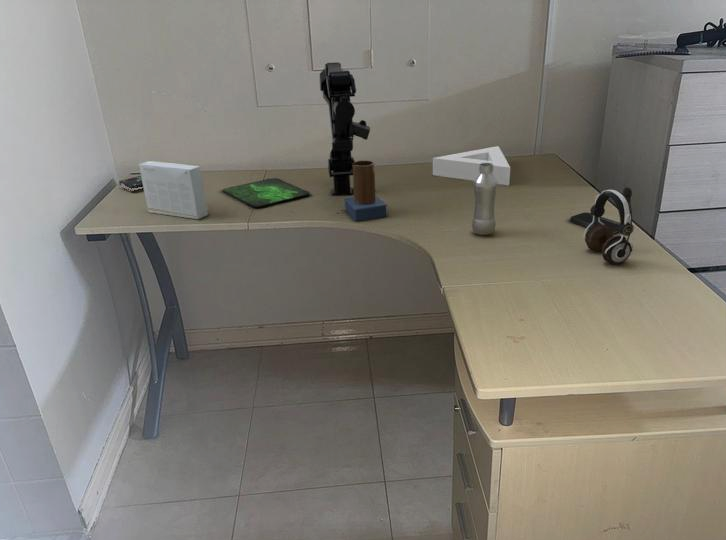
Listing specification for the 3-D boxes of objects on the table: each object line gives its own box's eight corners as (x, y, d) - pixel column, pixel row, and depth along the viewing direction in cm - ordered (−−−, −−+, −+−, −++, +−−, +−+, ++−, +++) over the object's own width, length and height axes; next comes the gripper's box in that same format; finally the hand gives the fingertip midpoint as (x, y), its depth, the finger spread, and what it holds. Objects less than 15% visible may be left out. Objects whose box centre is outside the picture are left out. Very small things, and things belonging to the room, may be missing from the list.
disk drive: (133, 194, 228) (170, 183, 237) (131, 186, 227) (169, 176, 236) (120, 188, 235) (157, 178, 244) (118, 180, 233) (155, 171, 242)
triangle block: (509, 185, 224) (510, 167, 220) (434, 187, 224) (434, 169, 221) (497, 162, 250) (498, 145, 246) (430, 164, 250) (430, 147, 247)
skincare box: (209, 214, 206) (201, 165, 198) (198, 220, 202) (189, 170, 194) (159, 207, 214) (148, 159, 206) (147, 212, 210) (136, 164, 202)
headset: (637, 268, 161) (652, 191, 151) (609, 272, 160) (622, 194, 150) (603, 244, 176) (614, 171, 166) (577, 247, 174) (586, 174, 164)
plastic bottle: (494, 238, 182) (498, 168, 172) (470, 237, 183) (473, 167, 173) (495, 230, 187) (499, 161, 177) (472, 229, 188) (475, 161, 178)
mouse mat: (220, 190, 228) (219, 187, 227) (274, 178, 239) (274, 175, 239) (255, 209, 209) (254, 206, 208) (312, 195, 220) (312, 192, 219)
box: (344, 210, 206) (343, 198, 204) (374, 206, 209) (374, 194, 207) (355, 221, 197) (355, 209, 195) (387, 216, 200) (386, 204, 198)
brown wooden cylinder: (359, 197, 205) (357, 159, 199) (378, 199, 202) (377, 161, 196) (351, 203, 199) (348, 165, 193) (370, 205, 197) (368, 166, 191)
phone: (586, 211, 195) (627, 225, 184) (585, 215, 195) (626, 228, 185) (568, 217, 191) (609, 231, 180) (567, 221, 192) (609, 235, 181)
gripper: (368, 120, 188) (370, 172, 196) (367, 108, 204) (369, 157, 212) (330, 121, 188) (334, 174, 196) (333, 109, 204) (336, 158, 212)
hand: (344, 165), depth 204 cm, fingers open, 9 cm apart
